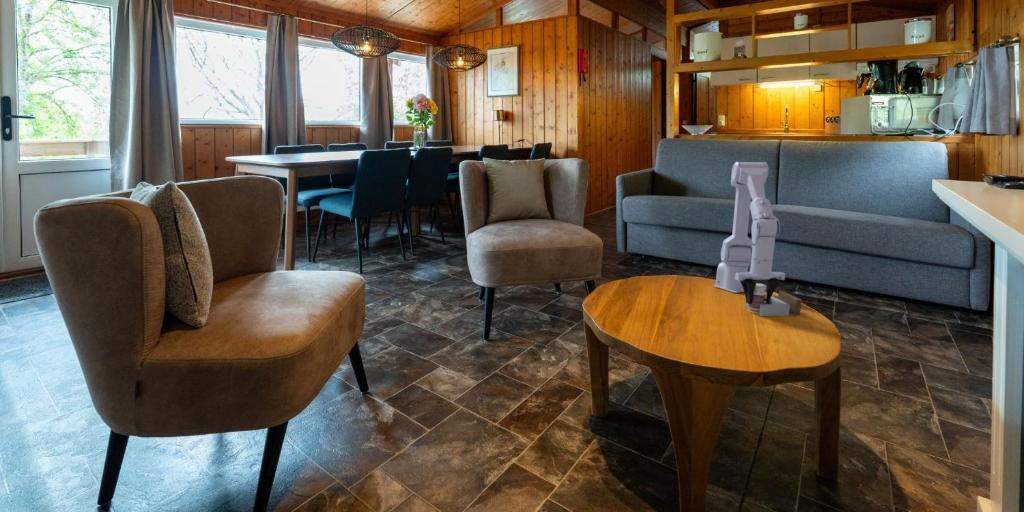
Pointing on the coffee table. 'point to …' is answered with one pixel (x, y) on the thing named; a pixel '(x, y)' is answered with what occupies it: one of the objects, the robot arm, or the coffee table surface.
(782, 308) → the cradle
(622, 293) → the coffee table surface
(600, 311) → the coffee table surface
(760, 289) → the pill bottle
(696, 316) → the coffee table surface
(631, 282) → the coffee table surface
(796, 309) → the wall
